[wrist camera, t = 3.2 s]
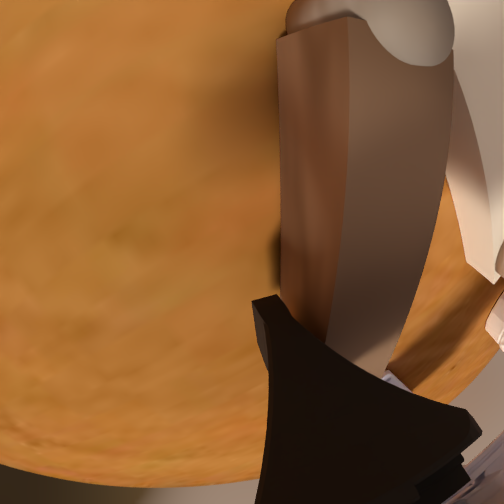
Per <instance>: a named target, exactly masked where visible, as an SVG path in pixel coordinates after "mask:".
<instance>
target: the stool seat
mask: <svg viewBox="0 0 504 504" xmlns="http://www.w3.org/2000/svg"><path fill="white" fill-rule="evenodd" d="M447 1H448V3H449V6H450V9H451V12H452V15H453V20H454V27H455V37H454V44H453V47H452V49H453V53H454V90H453V111H452V124H451V135H450V144H449V152H448V159H447V166H446V173H445V174H446V177H447V181H448V184H449V187H450V191H451V195H452V198H453V202H454V206H455V210H456V214H457V218H458V222H459V227H460V231H461V236H462V241H463V246H464V252H465V258H466V262H467V263H468V264H470V265H471V266H472V267H473V268H475V269H476V270H477V271H478V272H480V273H481V274H482V275H483V276H484V277H486V278H487V279H488V280H489V281H490V282H491V283H493V284H495V283H496V281H497V280H498V279H499V278H500V276H502V277H503V278H504V0H447Z"/></svg>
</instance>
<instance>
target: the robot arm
mask: <svg viewBox="0 0 504 504" xmlns="http://www.w3.org/2000/svg"><path fill="white" fill-rule="evenodd" d="M252 308H253V315H254V322H255V329H256V336H257V343H258V346H259V348H260V351H261V354H262V357H263V360H264V362H265V365H266V368H267V370H268V372H269V397H268V417H267V430H266V440H265V447H264V454H263V462H262V468H261V474H260V480H259V485H258V489H257V494H256V499H255V504H504V431H503V432H502V433H501V434H500V435H499V436H498V437H497V438H496V439H495V440H494V441H492V442H491V443H490V444H489V446H488V447H486V448H485V449H484V450H483V451H482V452H481V453H480V454H478V455H477V456H476V457H475V458H474V459H473V460H472V461H470V462H469V463H468V464H467V465H463V466H462V465H461V463H462V462H464V458H463V456H462V455H461V452H462V451H464V450H465V449H466V448H467V447H468V446H470V445H471V444H472V443H473V442H474V441H476V440H477V439H478V438H479V437H480V436H481V435H482V430H481V428H480V427H479V426H478V424H477V423H476V421H475V420H474V418H473V417H472V416H471V415H470V414H469V412H468V411H467V410H466V409H462V408H458V407H454V406H450V405H447V404H443V403H440V402H436V401H433V400H430V399H427V398H425V397H422V396H419V395H416V394H413V393H412V391H410V390H409V389H408V388H407V387H406V386H405V385H404V384H403V383H402V382H401V381H400V380H399V379H398V378H397V377H396V376H395V375H394V374H393V373H392V372H390V371H389V370H386V371H384V374H383V376H382V378H381V379H380V378H378V377H376V376H375V375H373V374H371V373H369V372H367V371H365V370H364V369H362V368H360V367H359V366H357V365H355V364H354V363H352V362H350V361H349V360H347V359H346V358H344V357H343V356H341V355H340V354H338V353H337V352H336V351H334V350H333V349H331V348H330V347H329V346H327V345H326V344H325V343H323V342H322V341H321V340H319V339H318V338H317V337H316V336H314V335H313V334H312V333H311V332H309V331H308V330H307V329H306V328H305V327H303V326H302V325H301V324H300V323H299V322H298V321H297V320H295V319H294V318H293V317H292V315H291V313H290V311H289V309H288V308H287V306H286V305H285V304H284V302H283V301H282V300H281V299H280V298H279V296H278V295H277V294H275V295H272V296H268V297H264V298H261V299H257V300H253V301H252Z"/></svg>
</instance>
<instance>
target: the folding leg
mask: <svg viewBox="0 0 504 504" xmlns="http://www.w3.org/2000/svg"><path fill="white" fill-rule="evenodd" d="M286 30H287V34H288V35H286V36H284V37H281V38H278V39H276V48H277V70H278V97H279V130H280V186H281V282H280V299H281V300H282V301H283V302H284V304H285V305H286V306H287V308H288V309H289V311H290V313H291V315H292V317H293V318H294V319H295V320H297V321H298V322H299V323H300V324H301V325H302V326H303V327H305V328H306V329H307V330H308V331H309V332H311V333H312V334H313V335H314V336H316V337H317V338H318V339H319V340H321V341H322V342H323V343H325V344H326V345H327V346H329V347H330V348H331V349H333V350H334V351H336V352H337V353H338V354H340V355H341V356H343V357H344V358H346V359H347V360H349V361H350V362H352V363H354V364H355V365H357V366H359V367H360V368H362V369H364V370H365V371H367V372H369V373H371V374H373V375H375V376H376V377H378V378H380V379H381V378H382V376H383V374H384V371H385V369H386V367H387V365H388V363H389V360H390V358H391V356H392V354H393V351H394V349H395V347H396V344H397V342H398V339H399V337H400V334H401V332H402V329H403V327H404V324H405V322H406V319H407V316H408V314H409V311H410V308H411V305H412V302H413V300H414V297H415V294H416V291H417V288H418V285H419V282H420V278H421V275H422V272H423V269H424V265H425V262H426V258H427V255H428V251H429V248H430V244H431V240H432V236H433V232H434V228H435V224H436V219H437V215H438V210H439V206H440V201H441V196H442V190H443V185H444V179H445V173H446V166H447V159H448V152H449V144H450V135H451V124H452V111H453V90H454V53H453V49H452V47H453V44H454V37H455V27H454V20H453V15H452V12H451V9H450V6H449V3H448V1H447V0H295V1H294V2H293V3H292V4H291V6H290V7H289V9H288V11H287V14H286Z"/></svg>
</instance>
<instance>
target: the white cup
mask: <svg viewBox="0 0 504 504" xmlns="http://www.w3.org/2000/svg"><path fill="white" fill-rule="evenodd" d="M485 329H486V331H487V332H488V333H489V334H490V335H491V336H492V337H493V339H494V340H495V341H496V342H497V343H498V344H499V346H500V348H501V350H502V351H503V352H504V292H503V293H502V295H501V296H500V297H499V299H498V301H497V302H496V304H495V306H494V307H493V309H492V311H491V313H490V315H489V317H488V319H487V321H486V326H485Z"/></svg>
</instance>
